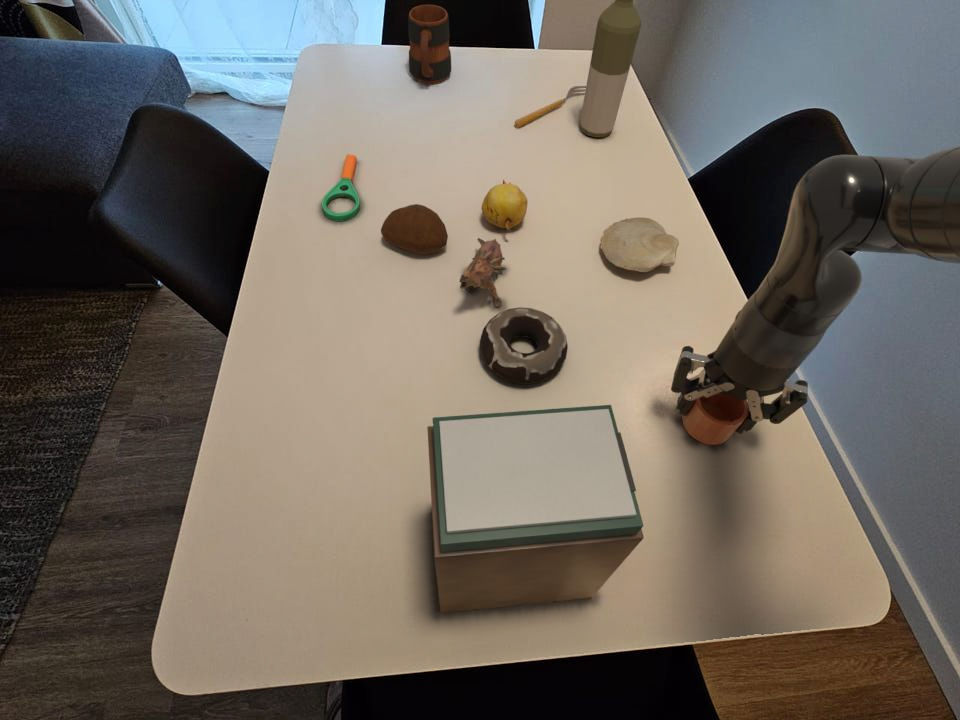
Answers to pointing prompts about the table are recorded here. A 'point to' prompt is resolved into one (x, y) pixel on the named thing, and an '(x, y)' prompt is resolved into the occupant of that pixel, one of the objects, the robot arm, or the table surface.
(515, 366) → the donut
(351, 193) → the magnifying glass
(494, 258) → the dinosaur figurine
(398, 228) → the potato
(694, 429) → the bowl
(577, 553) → the stand
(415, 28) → the mug
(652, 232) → the seashell
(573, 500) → the scale
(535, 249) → the table surface
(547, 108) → the fork
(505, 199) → the fruit
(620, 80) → the bottle
